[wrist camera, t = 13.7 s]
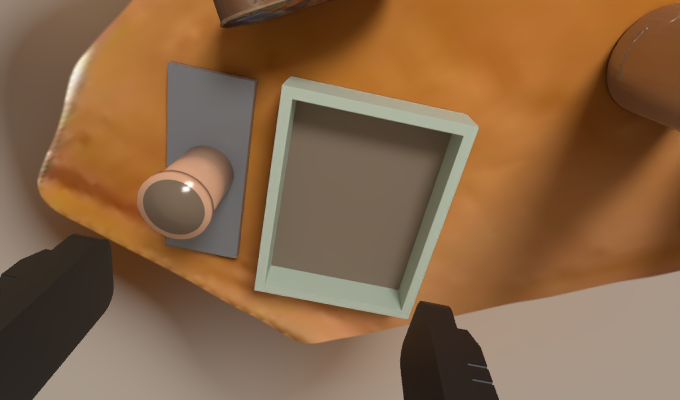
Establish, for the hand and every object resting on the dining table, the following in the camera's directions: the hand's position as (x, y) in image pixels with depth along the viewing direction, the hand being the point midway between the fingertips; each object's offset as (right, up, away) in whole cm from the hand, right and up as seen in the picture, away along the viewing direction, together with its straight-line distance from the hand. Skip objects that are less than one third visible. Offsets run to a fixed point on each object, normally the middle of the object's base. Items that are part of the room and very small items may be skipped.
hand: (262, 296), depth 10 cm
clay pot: (-12, +5, +30) cm, 33 cm away
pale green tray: (+4, +3, +32) cm, 32 cm away
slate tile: (-12, +6, +31) cm, 34 cm away
